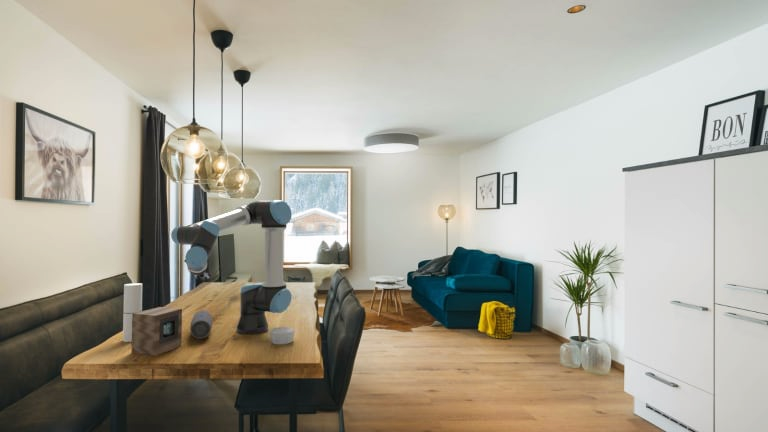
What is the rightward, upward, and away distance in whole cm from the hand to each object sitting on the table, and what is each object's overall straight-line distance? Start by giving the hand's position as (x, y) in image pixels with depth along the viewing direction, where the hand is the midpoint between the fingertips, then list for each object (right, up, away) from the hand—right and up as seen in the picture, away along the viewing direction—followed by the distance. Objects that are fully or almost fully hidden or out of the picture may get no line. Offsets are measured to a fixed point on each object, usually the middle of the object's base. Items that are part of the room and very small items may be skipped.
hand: (198, 275), depth 191 cm
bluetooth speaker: (-1, -29, +5) cm, 30 cm away
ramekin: (+40, -30, -4) cm, 50 cm away
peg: (-10, -22, -17) cm, 30 cm away
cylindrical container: (-29, -29, -4) cm, 41 cm away
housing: (-10, -28, -17) cm, 35 cm away
